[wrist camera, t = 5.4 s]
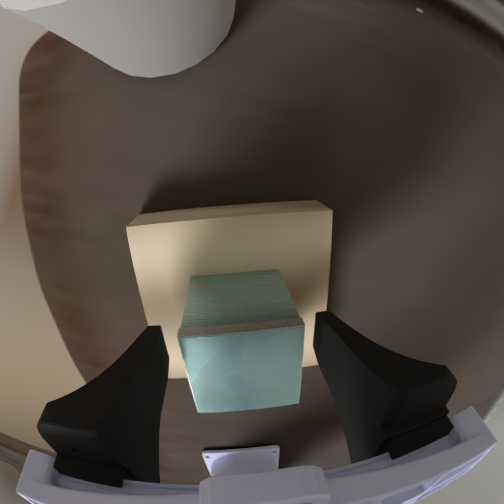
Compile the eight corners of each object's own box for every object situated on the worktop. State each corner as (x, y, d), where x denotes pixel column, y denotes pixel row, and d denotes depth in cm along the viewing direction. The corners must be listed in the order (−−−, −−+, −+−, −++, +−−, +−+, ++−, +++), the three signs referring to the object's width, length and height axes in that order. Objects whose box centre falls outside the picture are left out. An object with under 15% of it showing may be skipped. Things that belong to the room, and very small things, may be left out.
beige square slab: (308, 336, 20) (320, 364, 17) (170, 349, 19) (165, 378, 17) (314, 198, 16) (332, 210, 14) (141, 212, 16) (126, 227, 13)
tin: (280, 338, 16) (298, 403, 11) (201, 345, 16) (198, 413, 11) (279, 267, 14) (305, 325, 10) (189, 275, 14) (177, 337, 9)
